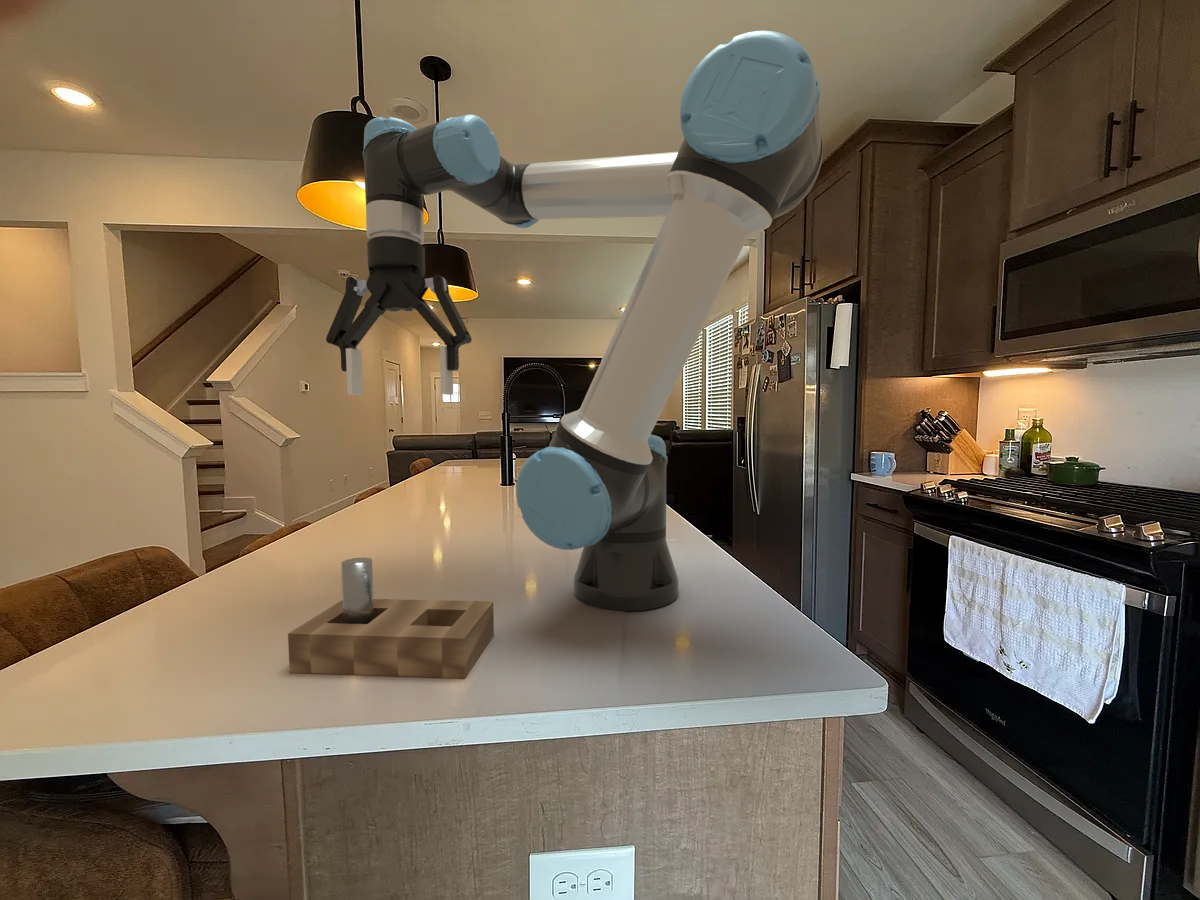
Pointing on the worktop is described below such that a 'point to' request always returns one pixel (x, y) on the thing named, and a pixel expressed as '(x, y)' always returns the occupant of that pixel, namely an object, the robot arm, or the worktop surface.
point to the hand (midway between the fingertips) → (400, 395)
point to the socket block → (395, 640)
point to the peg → (357, 591)
